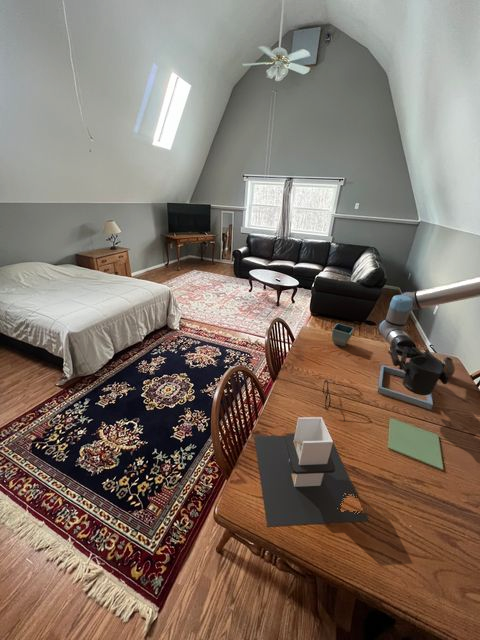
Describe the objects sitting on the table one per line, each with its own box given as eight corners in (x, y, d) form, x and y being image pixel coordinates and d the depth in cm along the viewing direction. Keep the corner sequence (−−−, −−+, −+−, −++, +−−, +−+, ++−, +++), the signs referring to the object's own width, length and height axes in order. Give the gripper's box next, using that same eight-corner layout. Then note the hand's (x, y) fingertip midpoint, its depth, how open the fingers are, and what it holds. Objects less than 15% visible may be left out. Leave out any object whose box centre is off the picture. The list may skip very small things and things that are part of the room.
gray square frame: (427, 383, 112) (429, 378, 111) (430, 410, 98) (433, 404, 96) (380, 369, 120) (381, 364, 118) (376, 392, 105) (378, 387, 104)
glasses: (322, 387, 106) (325, 377, 104) (360, 396, 105) (364, 386, 103) (325, 413, 94) (330, 402, 92) (368, 424, 92) (374, 413, 90)
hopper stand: (254, 436, 83) (257, 395, 76) (329, 434, 85) (339, 394, 78) (267, 526, 61) (274, 480, 54) (369, 520, 63) (388, 475, 56)
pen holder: (398, 376, 97) (406, 353, 93) (427, 382, 95) (437, 358, 91) (404, 393, 89) (414, 368, 85) (436, 399, 87) (448, 374, 82)
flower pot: (328, 344, 138) (332, 328, 134) (334, 337, 145) (337, 322, 141) (346, 349, 134) (350, 334, 130) (350, 342, 140) (354, 327, 136)
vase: (449, 382, 113) (458, 365, 109) (430, 375, 117) (438, 358, 113) (452, 375, 118) (460, 358, 114) (433, 368, 122) (440, 352, 118)
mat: (437, 436, 87) (438, 434, 86) (442, 470, 76) (443, 469, 75) (389, 418, 93) (390, 417, 92) (387, 448, 81) (388, 447, 81)
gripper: (427, 354, 105) (462, 392, 85) (370, 348, 108) (391, 384, 87) (433, 337, 102) (472, 373, 82) (375, 332, 104) (398, 365, 84)
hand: (430, 378), depth 85 cm, fingers closed on pen holder, 9 cm apart
